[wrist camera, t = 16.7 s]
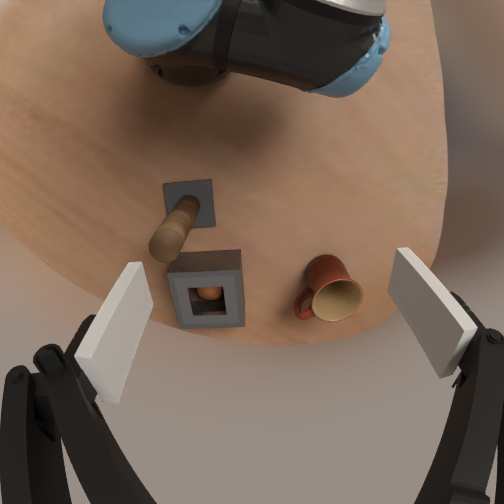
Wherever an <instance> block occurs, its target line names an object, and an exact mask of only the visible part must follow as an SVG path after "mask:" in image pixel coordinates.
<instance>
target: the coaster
mask: <svg viewBox="0 0 504 504" xmlns="http://www.w3.org/2000/svg"><path fill="white" fill-rule="evenodd" d="M163 187H164V194H165V201H166V208H167V214H168V215H169V213H170V212H171V211H172V209H173V208H174V206H175V205H176V204H177V202H178V201H179V200H180V199H181V198H182V197H183V196H185V195H193V196H195V197H196V198H197V199H198V200H199V202H200V210H199V212H198V214H197V216H196V218H195V221H194V223H193V225H192V227H206V226H215V225H216V223H215V213H214V203H213V193H212V182H211V179H208V180H196V181H185V182H174V183H165V184H163Z"/></svg>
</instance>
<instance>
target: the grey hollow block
mask: <svg viewBox="0 0 504 504" xmlns="http://www.w3.org/2000/svg"><path fill="white" fill-rule="evenodd" d="M167 277H168V282H169V286H170V290H171V295H172V299H173V303H174V307H175V311H176V315H177V319H178V323H179V327H180V328H226V327H245V298H244V285H243V272H242V258H241V249H238V250H219V251H201V252H182V253H179V255H178V257H177V258H176V259H175V260H174V261H172V262H171V264H170V266H169V269H168V271H167ZM222 286H223V289H224V297H225V300H215V301H191V296H190V291H189V288H197V287H222Z"/></svg>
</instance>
